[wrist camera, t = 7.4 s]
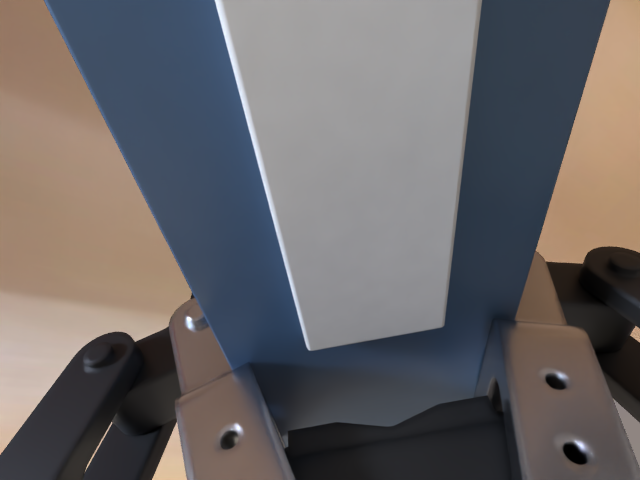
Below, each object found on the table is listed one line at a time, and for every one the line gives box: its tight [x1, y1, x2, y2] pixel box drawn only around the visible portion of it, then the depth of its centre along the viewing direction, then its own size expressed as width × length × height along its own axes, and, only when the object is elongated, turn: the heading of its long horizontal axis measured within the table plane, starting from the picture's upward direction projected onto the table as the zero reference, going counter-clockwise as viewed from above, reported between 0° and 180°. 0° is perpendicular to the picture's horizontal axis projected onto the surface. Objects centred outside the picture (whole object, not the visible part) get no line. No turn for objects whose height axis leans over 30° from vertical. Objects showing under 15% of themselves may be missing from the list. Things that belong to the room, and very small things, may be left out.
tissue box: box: [44, 0, 610, 447], centre depth 8 cm, size 5×13×8 cm, turn 8°
